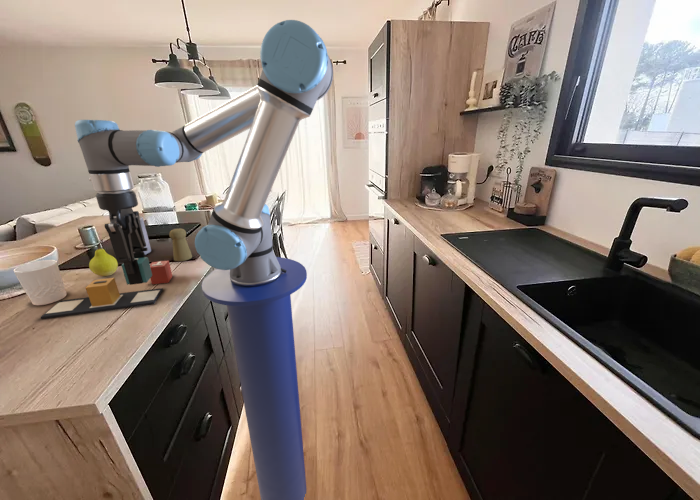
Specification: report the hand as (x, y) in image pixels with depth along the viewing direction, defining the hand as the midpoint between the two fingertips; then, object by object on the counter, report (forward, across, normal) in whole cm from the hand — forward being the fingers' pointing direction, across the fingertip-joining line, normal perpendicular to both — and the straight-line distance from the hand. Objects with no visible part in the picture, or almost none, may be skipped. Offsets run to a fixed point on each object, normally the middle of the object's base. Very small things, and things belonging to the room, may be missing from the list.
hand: (140, 278), depth 76 cm
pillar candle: (+6, -39, -15) cm, 42 cm away
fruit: (+6, -20, -17) cm, 27 cm away
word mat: (+6, 0, -9) cm, 11 cm away
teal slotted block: (0, 0, 0) cm, 0 cm away
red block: (+6, -11, +1) cm, 12 cm away
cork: (+6, -29, +3) cm, 30 cm away
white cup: (+6, -7, -25) cm, 26 cm away
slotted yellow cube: (+5, 0, -9) cm, 10 cm away
